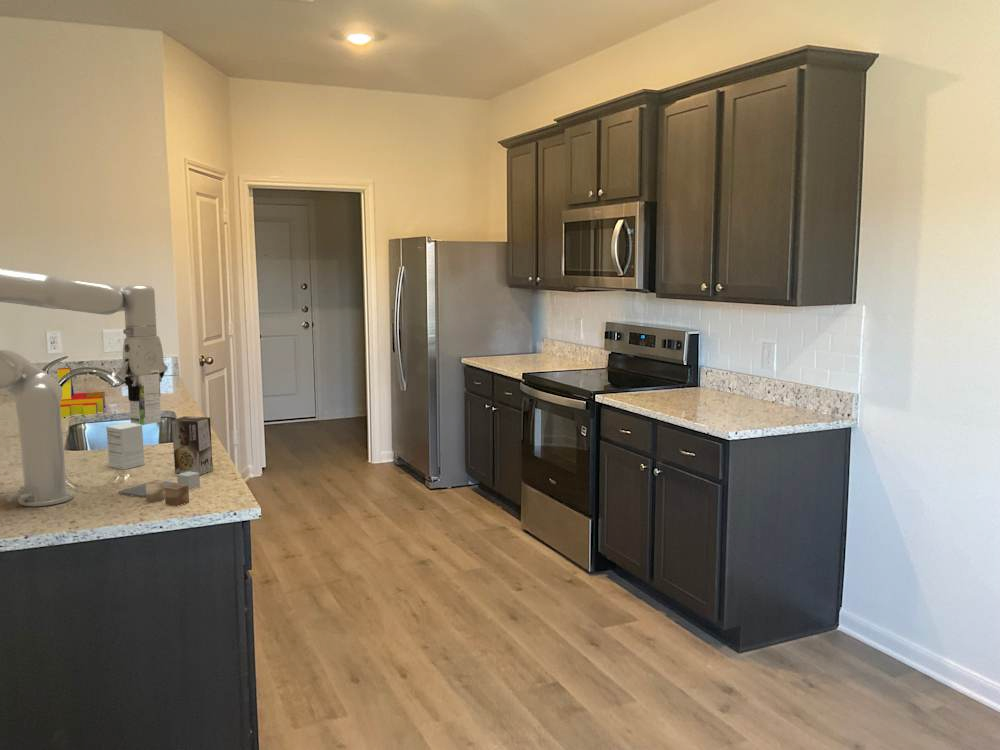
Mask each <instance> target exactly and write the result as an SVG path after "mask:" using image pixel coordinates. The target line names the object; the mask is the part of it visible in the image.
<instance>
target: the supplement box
mask: <svg viewBox="0 0 1000 750" xmlns="http://www.w3.org/2000/svg"><path fill="white" fill-rule="evenodd" d="M105 427H106V439H107V440H106V441H107V455H108V458H107V459H108V466H109V467H110V468H112V467H113V469H117V468H119V469H118V470H122V469H124V470H128V469H133V468H136V467H141V466H144V465H145V451H144V438H143V436H144V435H143V425H140V424H135V423H131V422H123V423H118V424H113V425H108V426H105Z"/></svg>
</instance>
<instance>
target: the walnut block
mask: <svg viewBox="0 0 1000 750" xmlns="http://www.w3.org/2000/svg"><path fill="white" fill-rule="evenodd" d="M189 491H190V490H189V489H188V485H182V484H174V485H171V486H168V487H165V500H164V501H165V505H166V504H169V505H168V506H172V505H175V506H174V507H179V506H178V505H180V506H182V505H185V504H187V503H186V502H188V503H190V494H189V493H190V492H189ZM184 503H185V504H184ZM181 504H182V505H181Z"/></svg>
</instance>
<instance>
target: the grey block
mask: <svg viewBox="0 0 1000 750" xmlns="http://www.w3.org/2000/svg"><path fill="white" fill-rule="evenodd" d="M176 476H177V478H176V479H177V483H178V484H182V485H188V489H191V490H193V489H192V488H194V489H196V488H195V487H197V488H199V487H198V486H200V487H201V480H200V475H199V473H197V472H190V471H188V472H184V473H181V474H177V475H176Z"/></svg>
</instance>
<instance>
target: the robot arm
mask: <svg viewBox="0 0 1000 750" xmlns="http://www.w3.org/2000/svg"><path fill="white" fill-rule="evenodd" d="M155 295H156V294H155V289H154V287H152V286H150V285H145V284H144V285H142V284H141V285H139V284H138V285H136V284H135V285H127V286H125V285H114V284H100V283H92V282H83V281H77V280H71V279H67V278H63V277H59V276H57V275H53V274H48V273H43V272H34V271H28V270H27V271H26V270H20V269H13V268H8V267H7V268H6V267H1V266H0V303H5V304H13V305H14V304H15V305H24V306H29V307H31V306H32V307H37V308H38V307H39V308H43V309H45V308H46V309H53V310H66V311H73V312H79V313H80V312H81V313H88V314H95V315H102V316H103V315H105V316H109V315H110V316H111V315H113V314H116V313H118V312H119V313H120V312H124V325H125V328H124V329H123V330H122V331H123V334H124V335H125V338H124V340H123V347H122V365H121V367H120V368H119V370H118V371H117V373H116V375H117V377H119V379H121V381H122V382H123V383H124V385H125V387H126V386H127V397H128V401H129V402H130V401H139V387H138V386H136V384H137V381H138V376H143V375H147V374H150V373H151V371H153V370H159V390H160V391H161V384H160V383H162V380H163V377H164V376H165V374H166V372H167V370H168V368H169V367H168V365H167V364H166V363H165V360H164V358H165V357H164V351H163V347H162V342H161V338H160V336H158V335H157V333H158V331H157V318H156V316H157V313H156V296H155ZM132 377H133V380H132ZM0 391H6V392H7V393H8V394H10V395H12V396H13V397H15V398H16V399H15V402H16V403H15V405H16V415H17V420H18V427H19V440H20V447H21V449H20V450H21V461H22V463H21V464H22V475H23V476H22V477H23V485H21V486H20V485H19V490H17V491H16V492H10V493H8V494H6V495H5V499H6V501H7V502H13V501H16V500H17V501H18V504H19V505H21V506H25V507H46V506H51V505H52V506H53V505H57V504H61V503H62V504H63V503H65V502H68V501H71V500H72V499H73V498H74V497H75V494H74V491H72V490H69V489H68V488H67V476H66V474H67V473H66V464H65V449H64V448H65V447H64V434H63V424H62V423H63V422H62V418H61V412H60V401H61V399H62V388H61V386H60V384H59V383H58V379H55V378H54V377H53V376H51V375H50V374H49V373H47V372H45V371H44V370H43V369H41V368H40V367H38V366H37V365H35V364H34V363H33V362H31V361H30V360H28V359H27V358H25V357H24V356H22V355H21V354H19V353H17V352H15V351H12V350H8V349H1V350H0Z"/></svg>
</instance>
